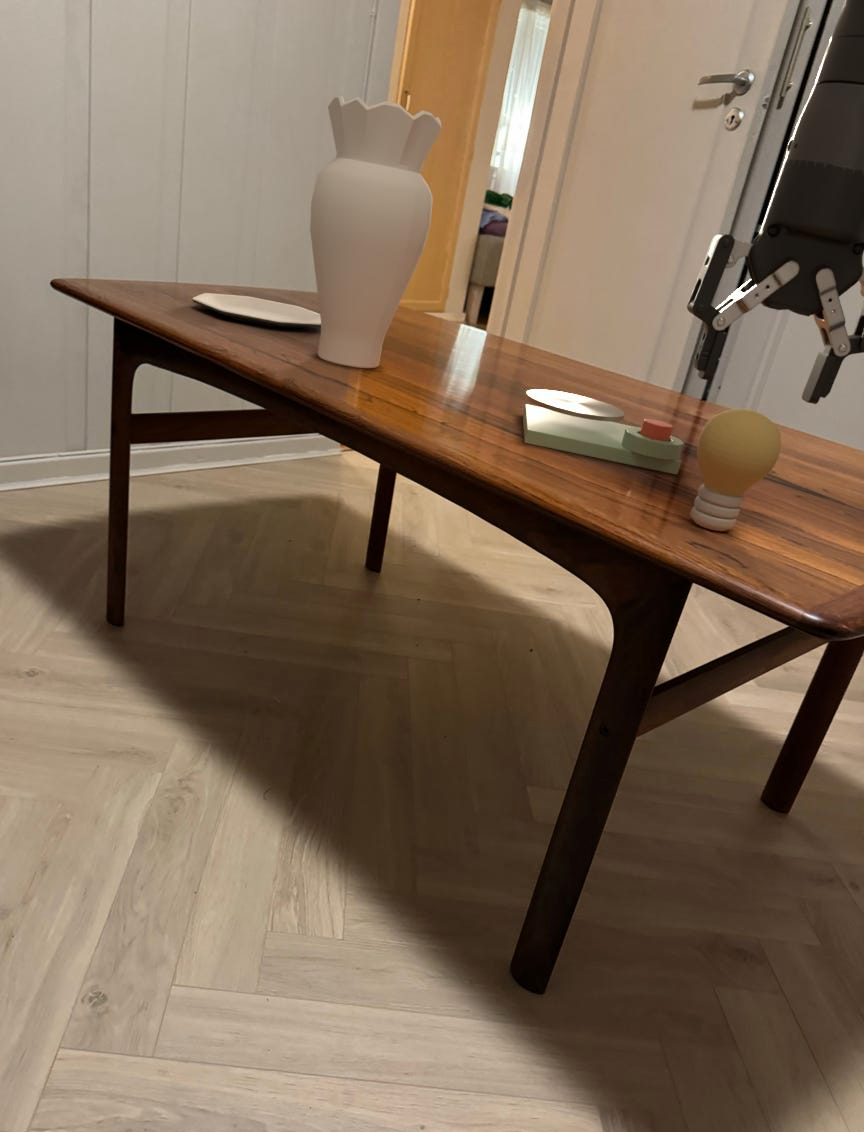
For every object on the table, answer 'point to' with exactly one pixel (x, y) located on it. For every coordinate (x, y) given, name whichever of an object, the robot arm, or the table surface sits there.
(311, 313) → the plate
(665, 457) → the scale
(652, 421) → the button
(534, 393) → the scale pan
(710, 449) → the light bulb
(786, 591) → the table surface
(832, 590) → the table surface
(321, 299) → the vase
